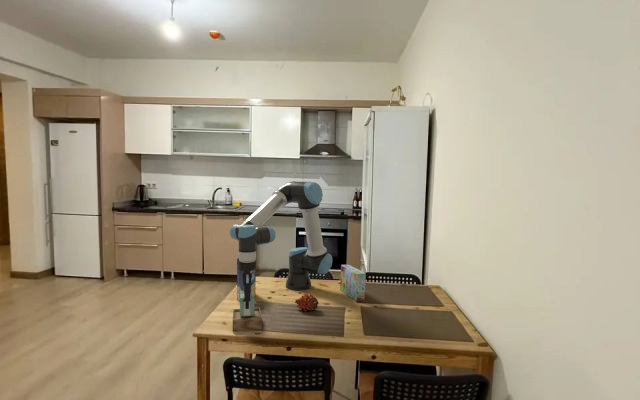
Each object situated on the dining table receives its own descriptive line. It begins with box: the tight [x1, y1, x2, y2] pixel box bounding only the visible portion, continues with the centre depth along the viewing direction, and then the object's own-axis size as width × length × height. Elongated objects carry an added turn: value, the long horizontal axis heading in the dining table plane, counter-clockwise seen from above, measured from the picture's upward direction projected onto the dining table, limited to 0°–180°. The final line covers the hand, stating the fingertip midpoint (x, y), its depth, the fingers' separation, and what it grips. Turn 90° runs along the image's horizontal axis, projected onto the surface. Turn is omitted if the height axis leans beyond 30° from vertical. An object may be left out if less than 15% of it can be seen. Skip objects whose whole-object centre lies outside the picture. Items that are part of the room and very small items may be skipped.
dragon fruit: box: [294, 293, 319, 312], centre depth 175 cm, size 8×8×12 cm
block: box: [239, 293, 255, 316], centre depth 156 cm, size 6×6×8 cm
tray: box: [232, 307, 263, 332], centre depth 157 cm, size 12×12×5 cm
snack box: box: [339, 264, 367, 302], centre depth 198 cm, size 21×6×15 cm, turn 22°
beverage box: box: [236, 257, 257, 301], centre depth 192 cm, size 7×11×22 cm, turn 174°
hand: (246, 312), depth 157 cm, fingers closed on block, 6 cm apart
